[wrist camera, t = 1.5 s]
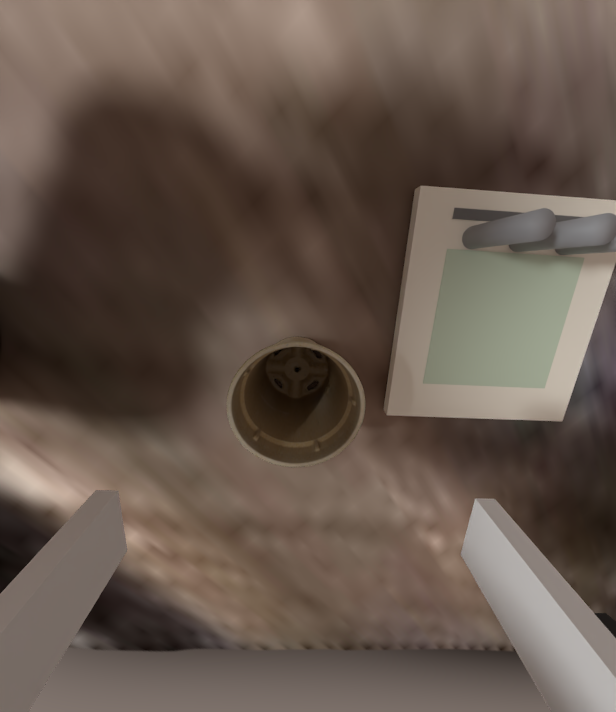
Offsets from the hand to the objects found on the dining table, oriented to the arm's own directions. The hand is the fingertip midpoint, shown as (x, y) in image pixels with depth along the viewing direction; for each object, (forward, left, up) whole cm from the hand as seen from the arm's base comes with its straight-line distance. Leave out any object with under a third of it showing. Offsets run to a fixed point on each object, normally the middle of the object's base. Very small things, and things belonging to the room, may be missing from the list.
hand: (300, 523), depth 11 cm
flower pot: (0, 0, -18) cm, 18 cm away
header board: (+18, +6, -18) cm, 26 cm away
